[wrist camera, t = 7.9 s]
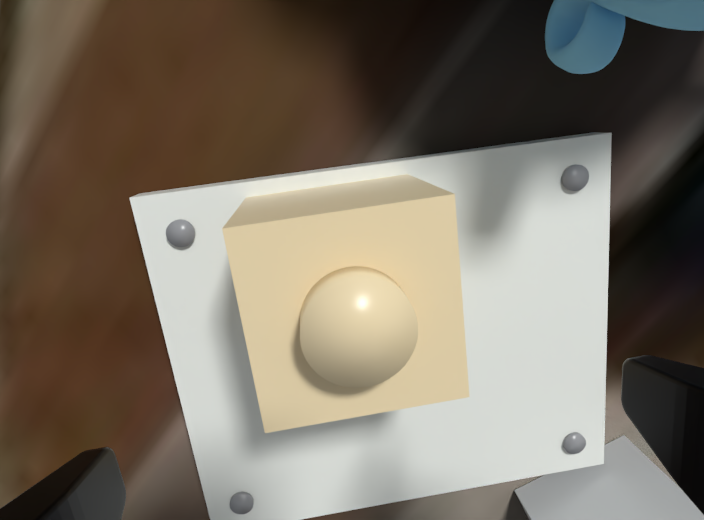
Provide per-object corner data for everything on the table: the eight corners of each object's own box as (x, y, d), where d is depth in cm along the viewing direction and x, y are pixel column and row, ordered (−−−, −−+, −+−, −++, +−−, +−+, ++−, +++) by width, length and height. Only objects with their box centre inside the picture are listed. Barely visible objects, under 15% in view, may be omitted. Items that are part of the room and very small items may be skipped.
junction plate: (588, 447, 24) (670, 537, 18) (218, 514, 22) (194, 630, 17) (593, 132, 20) (699, 133, 14) (139, 193, 18) (77, 219, 13)
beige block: (422, 322, 20) (481, 416, 13) (274, 346, 19) (262, 456, 13) (407, 173, 18) (467, 199, 12) (246, 197, 18) (215, 237, 11)
